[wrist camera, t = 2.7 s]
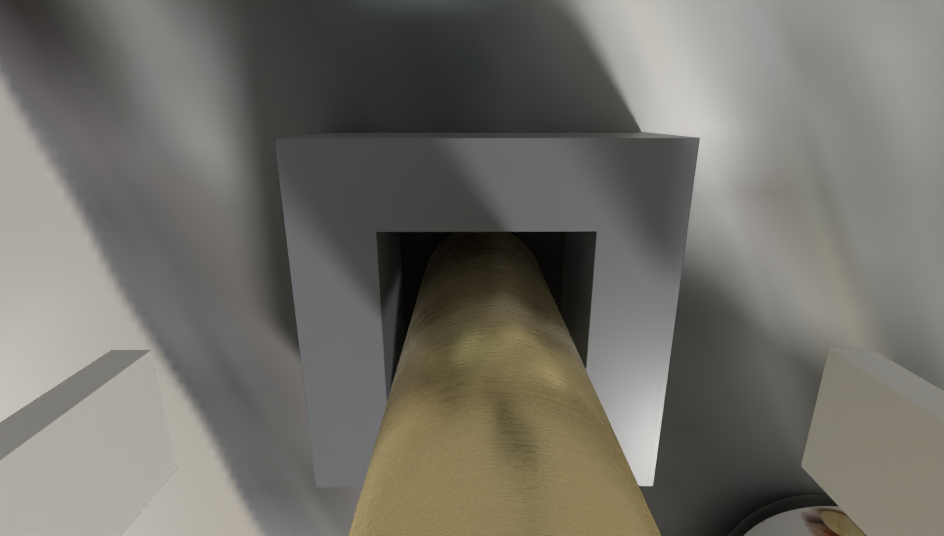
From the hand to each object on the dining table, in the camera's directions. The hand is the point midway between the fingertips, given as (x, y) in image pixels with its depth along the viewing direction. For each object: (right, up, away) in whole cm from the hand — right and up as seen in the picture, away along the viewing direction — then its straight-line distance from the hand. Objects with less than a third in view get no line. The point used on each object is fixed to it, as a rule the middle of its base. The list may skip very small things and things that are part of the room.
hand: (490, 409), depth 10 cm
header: (0, +2, +7) cm, 7 cm away
